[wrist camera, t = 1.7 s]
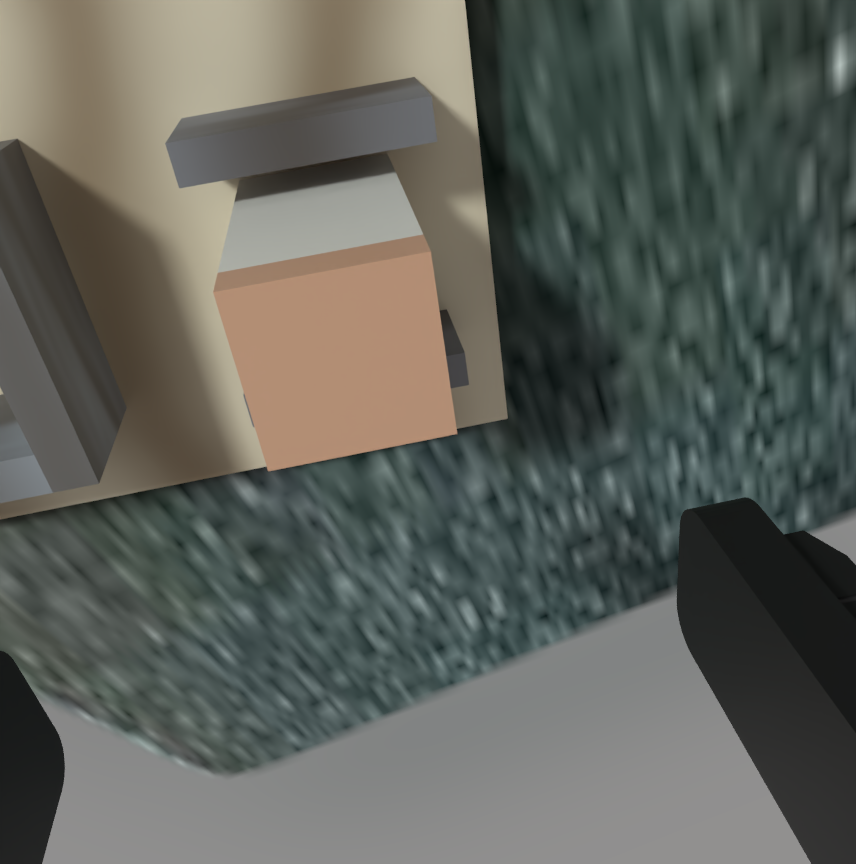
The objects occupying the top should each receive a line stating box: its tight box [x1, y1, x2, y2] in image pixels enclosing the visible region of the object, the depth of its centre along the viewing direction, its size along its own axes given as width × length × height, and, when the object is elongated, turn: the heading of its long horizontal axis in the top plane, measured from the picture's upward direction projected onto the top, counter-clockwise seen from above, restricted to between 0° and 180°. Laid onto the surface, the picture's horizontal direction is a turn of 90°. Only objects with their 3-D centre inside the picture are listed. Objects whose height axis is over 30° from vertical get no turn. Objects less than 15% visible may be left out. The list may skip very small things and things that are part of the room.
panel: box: [0, 0, 508, 519], centre depth 21 cm, size 20×14×6 cm
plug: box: [213, 154, 457, 471], centre depth 19 cm, size 4×4×8 cm
